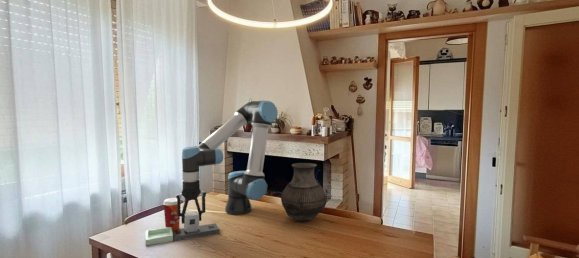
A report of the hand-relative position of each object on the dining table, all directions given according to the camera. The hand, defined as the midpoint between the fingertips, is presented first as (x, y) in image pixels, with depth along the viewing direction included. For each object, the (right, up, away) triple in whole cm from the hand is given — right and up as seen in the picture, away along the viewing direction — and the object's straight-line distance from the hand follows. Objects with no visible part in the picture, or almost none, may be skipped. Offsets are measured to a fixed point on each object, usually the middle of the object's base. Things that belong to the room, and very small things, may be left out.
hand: (191, 228), depth 137 cm
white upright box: (0, -3, 0) cm, 3 cm away
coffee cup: (-11, -3, +6) cm, 13 cm away
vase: (+54, -2, +20) cm, 57 cm away
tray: (-14, -3, -4) cm, 14 cm away
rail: (+2, -3, +1) cm, 3 cm away
